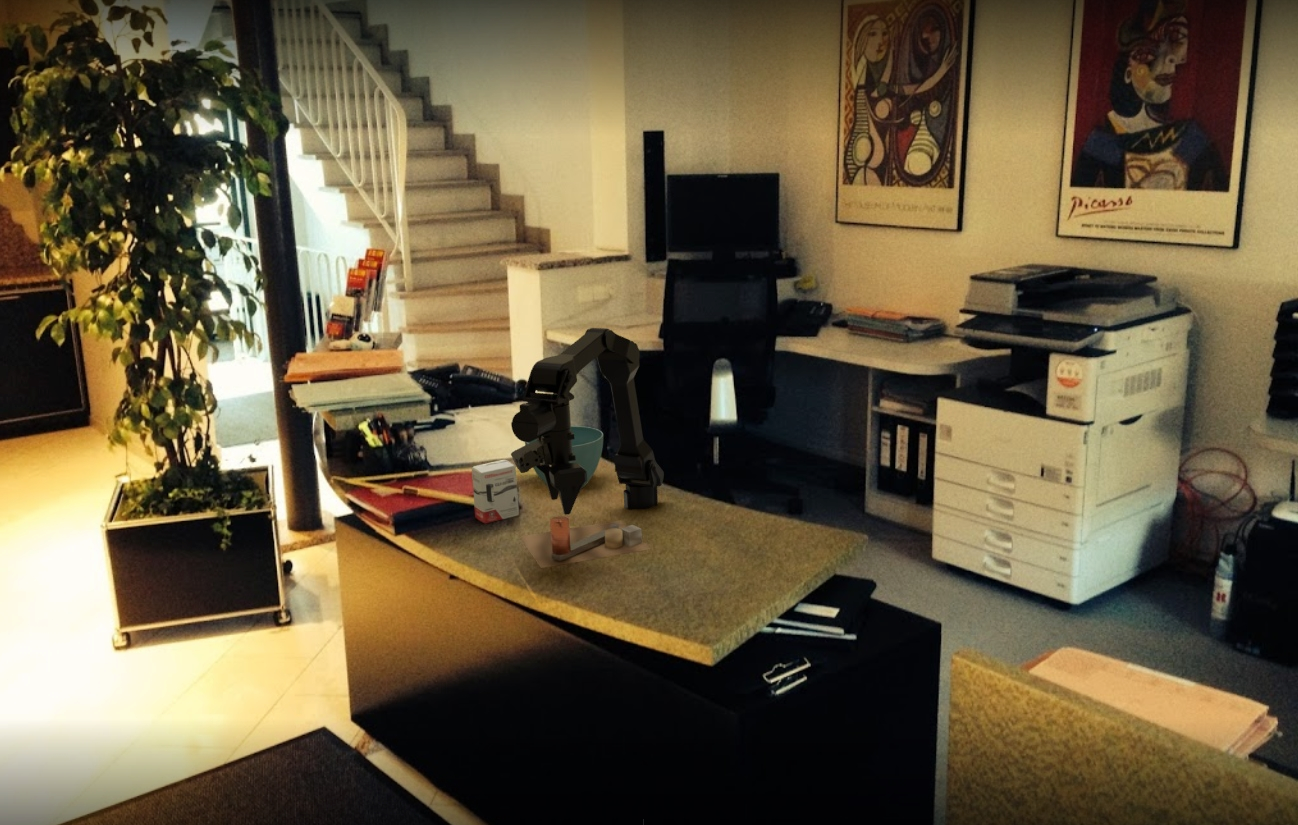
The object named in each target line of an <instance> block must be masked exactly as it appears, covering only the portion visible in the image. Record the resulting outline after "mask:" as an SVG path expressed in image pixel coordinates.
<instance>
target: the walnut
mask: <svg viewBox="0 0 1298 825" xmlns="http://www.w3.org/2000/svg"><path fill="white" fill-rule="evenodd" d="M605 547H606V548H608V549H618V548H621V547H623V533H622V530H621V529H617V528H612V529H608V530H606V531H605Z"/></svg>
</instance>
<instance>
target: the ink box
mask: <svg viewBox="0 0 1298 825" xmlns="http://www.w3.org/2000/svg"><path fill="white" fill-rule="evenodd" d="M471 475H472V476H471V478H472V490H473V504H474V506H473V507H474V516H475V519H477V520H478V521H480V522H481V523H483V524H489V523H492V522H496V521H501V520H505V519H510V518H514V517H517V516H520V510H519V509H520V508H519V496H518V495H519V494H518V485H517V484H518V483H517V482H518V481H517V467H516V464H515V463H512V462H511V461H509V460H507V459H501V460H495V461H492V462H488V463H487V462H486V463H484V464H478V465H474V466H473V467H472V468H471Z"/></svg>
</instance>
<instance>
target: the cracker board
mask: <svg viewBox="0 0 1298 825" xmlns="http://www.w3.org/2000/svg"><path fill="white" fill-rule="evenodd" d="M612 528H617V529H621V530H622V533H623V547H621V548H618V549H608V548H606V547H605V542H603V543H601V544H599V545H596V546H594V547H592V548H590V549H587V550H585V551H583V552H580V553H578V554H576V555H573V556H571V557H569V558H567V559H564V560H562V561H558V560H555V559H552V557H551V552H552V543H551V531H545V532H539V533H533V534H528V535H522V536H519V538H520V540H521V542H522V543H523V545H524V546H525V547H526V549H527V551H528V552H529V553H530V554H531V556H532V557H533V559H534V560H535V562H536V563H537V565H538V566H539V567H540V569H544V568H545V569H547V568H551V567H556V566H563V565H568V564H569V565H570V564H574V563H579V562H585V561H592V560H597V559H603V558H608V557H614V556H615V557H616V556H620V555H625V554H632V553H637V552H638V553H639V552H644V551H648V550H651V547H649V546H648V545H647V544H646V543H645V542H644V541H643V535H642V528H641V527H638V526H636V525H634V524H630V525H627V524H626V523H625V522H624V520H622V519H619V520H612V521H608V522H607V521H606V522H601V523H596V524H588V525H582V526H576V527H569V530H570V544H573V543H575V542H577V541H580V540H582V539H584V538H587V537H589V536H591V535H594V534H596V533H599V532H601V531H603V530H608V529H612Z"/></svg>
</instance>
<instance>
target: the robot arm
mask: <svg viewBox="0 0 1298 825" xmlns="http://www.w3.org/2000/svg"><path fill="white" fill-rule="evenodd" d="M640 354H641V353H640V348H639V347H638V344H637V342H636V343H635V341H633V340H631V339H629V338H626V337H624V336H621V335H619V334H617V333H616V332H614V330H612V329H610V328H605V327H604V328H603V327H590V328H588V329H586V331H585V332H584V334H583V335H582V336H581V337H580V338H578V339H577V340H576V341H574V342H573V343H571V345H570V346H568V347H567V348H566V349H564V350H563V351H562V352H561V353H558V354H557V355H554V356H553V355H552V356H549V357H544V358H543V359H540V360H538V361H536V362H535V363H534V364H533V366H532V369H531V370H530V372H529V376H528V379H527V382H526V386H525V390H524V394H523V397H522V401H523V403H521V404H519V411H518V412H516V413H515V415H513V417H512V421H511V423H510V425H511V426H510V427H511V430H512V433H513V434H514V436H515V437H516V438H517V440H520V442H524V443H525V442H531V441H533V440H535V439H537V441H534V442H532V443H529V444H527V445H524V446H521V447H520V448H517V449H515V450H514V451H512V452H511V453H510V456H511V458H512V460H513V462H514V465H515V466H516V470H519V472H520V473H521V474H525V473H528V472H529V471H530V470H531V469H534V468H533V467H535V466H536V467H537V468H538V469H539V470H540V471H542V472H543V474H544V477H545V480H546V483H547V485H546V486H547V489H548V492H549V495H550V498H551V500H554V501H555V500H558V499H559V498H560V503H561V507H562V510H563V514H564V515H565V516H566V515H570V514H571V513H572V511H573V510H572V509H573V508H574V506H575V504H576V500H577V499H578V495H579V493H580V491H581V490H582V488H581V487H582V485H583V484H585V482H586V481H587V471H586V470H585V469H584V468H583V467H582V466H581V465H579V464H578V463H577V462H575V463H569V461H575V460H576V457H575V454H574V453H573V452H572V440H573V439H574V434H573V433H572V432H571V426H572V424H571V408H570V407H571V406H570V401H572V400H574V399H575V395H574V393H572V392H570V391H572V389H573V387H574V386H575V384H577V382H578V374H579V372H581V371H582V370H583V369H584V368H586V367H587V366H588V365H589V364H590V363H591V362H593V361H594V360H595V359H596V360H597V363H598V366H599V369H600V373H601V374H602V376H604V377H605V379H606V380H607V381H608V382H609V385H610V388H611V393H612V401H613V406H614V407H613V408H614V413H615V418H616V426H617V431H618V437H619V443H620V445H619V446H618V450H617V451H616V454H614V455H613V458H612V459H613V462H614V472H615V473H616V476H617V480H618V483H619V485H625V489H624V490H623V507H624V508H625V509H627V510H642V511H643V510H650V509H651V508H654V507H656V506H658V505H659V502H658V501H659V500H658V487H661V486H663V484H662V483H663V482H664V476H665V474H664V473H665V472H664V471H663V469H662V468H661V466H660V465H659V463H657V461H656V458H655V454H654V451H653V448H651V446H650V445H649V444H648V443H647V441H645V439H644V436H643V430H642V422H641V416H640V409H639V404H638V396H637V390H636V384H635V376H636V373H637V371H638V369H639V367H640V356H641V355H640ZM524 402H525V403H524ZM558 497H559V498H558Z"/></svg>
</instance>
